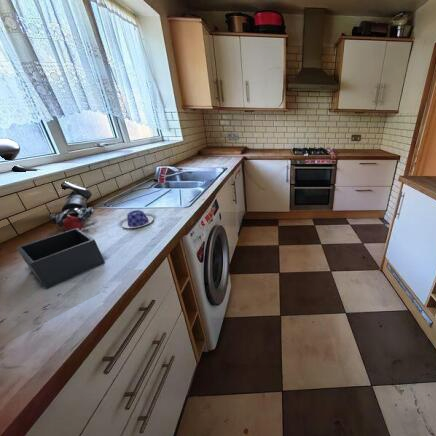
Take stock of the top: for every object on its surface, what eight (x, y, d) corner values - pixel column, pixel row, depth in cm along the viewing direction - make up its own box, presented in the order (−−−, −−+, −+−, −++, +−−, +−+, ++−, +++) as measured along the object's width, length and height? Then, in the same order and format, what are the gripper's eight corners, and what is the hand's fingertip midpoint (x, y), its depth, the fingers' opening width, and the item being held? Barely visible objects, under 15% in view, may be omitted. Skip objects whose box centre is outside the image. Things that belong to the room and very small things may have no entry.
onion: (88, 228, 97) (80, 211, 94) (82, 234, 93) (74, 216, 89) (71, 230, 96) (63, 213, 92) (65, 236, 91) (55, 219, 87)
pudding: (127, 232, 94) (123, 221, 91) (118, 223, 101) (114, 213, 98) (158, 222, 102) (155, 211, 100) (147, 215, 109) (144, 205, 107)
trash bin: (46, 289, 65) (29, 263, 61) (31, 271, 72) (16, 247, 68) (105, 262, 76) (94, 239, 72) (87, 249, 83) (77, 227, 79)
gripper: (98, 211, 107) (96, 225, 95) (57, 219, 100) (49, 235, 87) (92, 196, 104) (89, 208, 92) (49, 203, 97) (40, 218, 84)
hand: (70, 221), depth 90 cm, fingers closed on onion, 5 cm apart
